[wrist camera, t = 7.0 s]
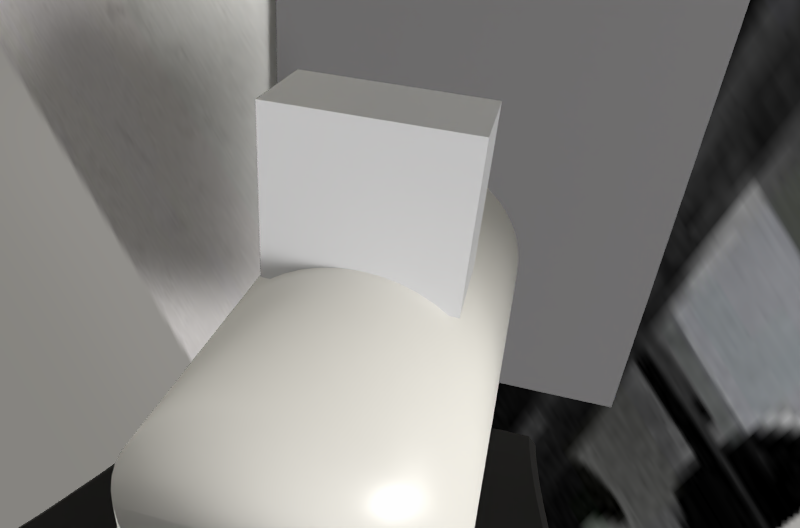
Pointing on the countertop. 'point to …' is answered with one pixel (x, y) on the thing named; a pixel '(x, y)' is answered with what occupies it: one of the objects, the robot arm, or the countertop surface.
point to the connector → (345, 327)
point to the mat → (554, 143)
